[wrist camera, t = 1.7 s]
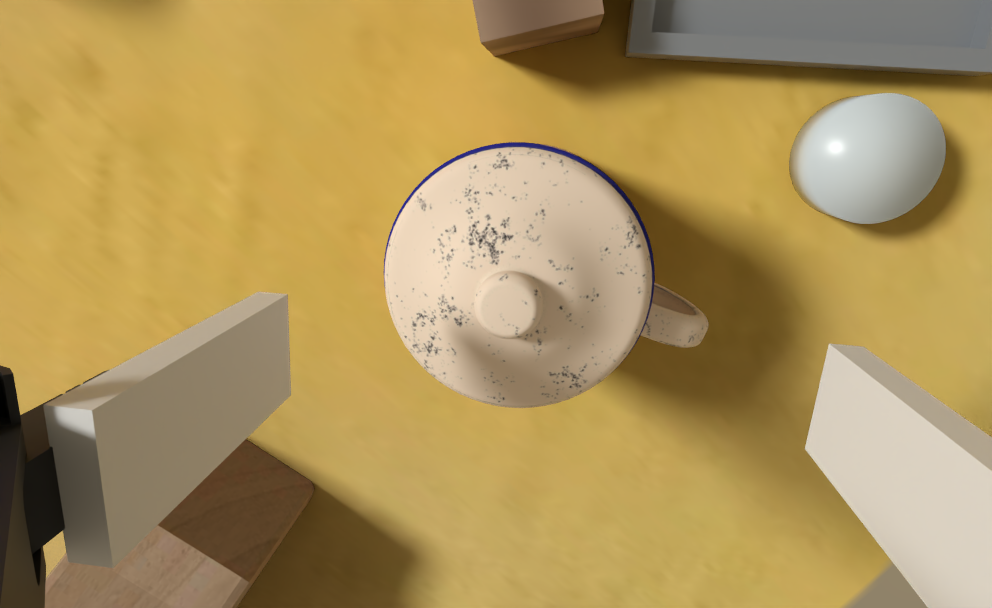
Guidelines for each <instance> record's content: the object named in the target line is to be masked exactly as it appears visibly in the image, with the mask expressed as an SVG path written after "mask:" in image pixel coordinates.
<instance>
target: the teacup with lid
mask: <svg viewBox="0 0 992 608" xmlns="http://www.w3.org/2000/svg"><path fill="white" fill-rule="evenodd" d="M654 281H655V276H654V261H653V253H652V249H651V245H650V241H649V237H648V235H647V232H646V229H645V226H644V224H643V222H642V220H641V218H640V216H639V214H638V212H637V211H636V209H635V207H634V206H633V204H632V202H631V201H630V200H629V198H628V197H627V196H626V194H625V193H624V192H623V191H622V190H621V189H620V188H619V186H618V185H617V184H616V183H615V182H614V181H613V180H612V179H611V178H609V177H608V176H607V175H606V174H605V173H604V172H602V171H601V170H600V169H598V168H597V167H595V166H594V165H592V164H591V163H589V162H587V161H586V160H584V159H582V158H580V157H578V156H576V155H575V154H573V153H571V152H568V151H566V150H564V149H560V148H557V147H554V146H549V145H543V144H534V143H500V144H493V145H489V146H484V147H480V148H477V149H474V150H471V151H468V152H466V153H463V154H461V155H459V156H456V157H455V158H453V159H451V160H449V161H447V162H446V163H444V164H443V165H441V166H440V167H438V168H437V169H435V170H434V171H433V172H432V173H430V174H429V175H428V176H427V177H426V178H425V179H424V180H423V181H422V182H421V183H420V184H419V185H418V186H417V187H416V188H415V189H414V190H413V192H412V193H411V194H410V196H409V197H408V198H407V200H406V201H405V203H404V204H403V206H402V208H401V209H400V211H399V213H398V215H397V217H396V219H395V221H394V223H393V226H392V229H391V232H390V235H389V238H388V242H387V246H386V253H385V259H384V285H385V292H386V298H387V303H388V307H389V311H390V314H391V317H392V320H393V322H394V325H395V327H396V329H397V331H398V334H399V336H400V337H401V339H402V341H403V342H404V344H405V346H406V347H407V349H408V350H409V351H410V353H411V354H412V356H413V357H414V358H415V359H416V360H417V361H418V363H419V364H420V365H421V366H422V367H423V368H424V369H425V370H426V371H427V372H428V373H429V374H431V375H432V376H433V377H434V378H436V379H437V380H438V381H439V382H441V383H442V384H444V385H445V386H447V387H449V388H450V389H452V390H454V391H456V392H458V393H459V394H461V395H464V396H466V397H468V398H471V399H473V400H476V401H480V402H483V403H487V404H491V405H495V406H502V407H512V408H529V407H539V406H546V405H550V404H555V403H558V402H561V401H565V400H568V399H570V398H572V397H575V396H577V395H579V394H581V393H583V392H585V391H587V390H589V389H590V388H592V387H594V386H595V385H596V384H598V383H599V382H601V381H602V380H603V379H605V378H606V377H607V376H608V375H609V374H611V373H612V372H613V371H614V370H615V369H616V368H617V367H618V366H619V365H620V364H621V363H622V361H623V360H624V359H625V358H626V357H627V355H628V354H629V353H630V351H631V350H632V348H633V347H634V345H635V344H636V342H637V341H638V339H639V337H640V335H641V336H643V337H646V338H649V339H651V340H654V341H657V342H660V343H663V344H667V345H671V346H676V347H684V348H689V347H695V346H697V345H698V344H700V343H701V341H702V340H703V338H704V336H705V334H706V332H707V329H708V326H709V324H708V320H707V318H706V316H705V315H704V314H703V312H702V311H701V310H700V309H698V308H697V307H696V306H695V305H694V304H692V303H691V302H689V301H688V300H686V299H685V298H683V297H682V296H680V295H678V294H677V293H675V292H673V291H671V290H669V289H667V288H665V287H663V286H661V285H659V284H657V283H655V282H654Z"/></svg>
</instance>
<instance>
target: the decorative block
mask: <svg viewBox="0 0 992 608" xmlns="http://www.w3.org/2000/svg"><path fill="white" fill-rule="evenodd" d="M313 491H314V487H313V484H312V482H311V481H310V480H308V479H307V478H305V477H303V476H302V475H300V474H299V473H297V472H296V471H294V470H293V469H291V468H289V467H288V466H286V465H285V464H283V463H282V462H280V461H279V460H277V459H275V458H274V457H272V456H271V455H269V454H268V453H266V452H265V451H263V450H261V449H260V448H258V447H257V446H255V445H254V444H252V443H251V442H249V441H247V440H246V439H245V440H244V441H243V442H242V443H241V444H240V445H239V446H238V447H237V448H236V449H235V450H234V451H233V452H232V453H231V454H230V455H229V456H228V457H227V458H226V459H225V460H224V461H223V462H222V463H221V464H220V465H219V466H217V467H216V468H215V469H214V470H213V471H212V472H211V473H210V474H209V475H208V476H207V477H206V478H205V479H204V480H203V481H202V482H201V483H200V484H199V485H198V486H197V487H196V488H195V489H194V490H193V491H192V492H191V493H190V494H189V495H188V496H187V497H186V498H185V499H184V500H183V501H182V502H181V503H180V504H178V505H177V506H176V507H175V508H174V509H173V510H172V511H171V512H170V513H169V514H168V515H167V516H166V517H165V518H164V519H163V520H162V521H161V522H160V523H159V524H158V525H157V526H156V527H155V528H154V529H153V530H152V531H151V532H150V533H149V534H148V535H147V536H146V537H145V538H144V539H143V540H142V541H141V542H139V543H138V544H137V545H136V546H135V547H134V548H133V549H132V550H131V551H130V552H129V553H128V554H127V555H126V556H125V557H124V558H123V559H122V560H121V561H120V562H119V563H118V564H117V565H116V566H115V567H114V568H108V567H101V566H93V565H86V564H78V563H70V562H68V559H67V552H66V554H65V555H64V556H63V558H62V559H61V560H60V561H59V563H58V564H57V565H56V566H55V568H54V569H53V570H52V571H51V573H50V574H49V575H48V576H47V578H46V583H45V608H237V606H238V605H239V603H240V602H241V600H242V599H243V598H244V596H245V595H246V593H247V592H248V590H249V589H250V587H251V586H252V584H253V583H254V581H255V580H256V578H257V577H258V576H259V574H260V573H261V571H262V570H263V568H264V567H265V565H266V564H267V562H268V561H269V559H270V558H271V557H272V555H273V554H274V552H275V551H276V549H277V548H278V546H279V545H280V543H281V542H282V540H283V539H284V537H285V536H286V535H287V533H288V532H289V530H290V529H291V527H292V526H293V524H294V523H295V521H296V520H297V518H298V517H299V516H300V514H301V513H302V511H303V510H304V508H305V507H306V505H307V504H308V502H309V501H310V499H311V497H312V494H313Z"/></svg>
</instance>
